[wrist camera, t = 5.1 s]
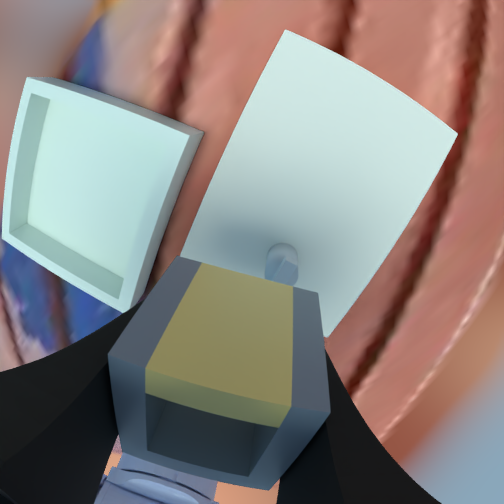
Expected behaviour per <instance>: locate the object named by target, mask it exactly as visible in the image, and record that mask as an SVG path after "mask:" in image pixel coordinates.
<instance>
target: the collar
mask: <svg viewBox="0 0 504 504" xmlns="http://www.w3.org/2000/svg"><path fill="white" fill-rule="evenodd" d="M108 362H109V371H110V380H111V388H112V396H113V403H114V409H115V415H116V421H117V427H118V433H119V438H120V443H121V448H122V452H124V453H126V454H129V455H131V456H134V457H137V458H140V459H142V460H145V461H148V462H151V463H154V464H157V465H160V466H163V467H166V468H170V469H173V470H176V471H180V472H183V473H187V474H191V475H194V476H198V477H202V478H206V479H210V480H215V481H219V482H224V483H229V484H233V485H239V486H244V487H250V488H256V489H262V490H270V489H271V488H272V486H273V485H274V484H275V483H276V482H277V481H278V480H279V478H280V477H281V476H282V475H283V474H284V473H285V471H286V470H287V469H288V468H289V467H290V465H291V464H292V463H293V462H294V460H295V459H296V458H297V457H298V456H299V454H300V453H301V452H302V450H303V449H304V448H305V447H306V445H307V444H308V443H309V441H310V440H311V439H312V438H313V436H314V435H315V434H316V432H317V431H318V430H319V428H320V427H321V425H322V424H323V423H324V421H325V420H326V419H327V417H328V416H329V414H330V413H331V411H330V398H329V387H328V376H327V365H326V355H325V346H324V337H323V328H322V320H321V311H320V303H319V296H318V293H317V292H313V291H309V290H305V289H301V288H297V287H293V286H289V285H286V284H282V283H278V282H274V281H270V280H266V279H262V278H258V277H255V276H251V275H247V274H243V273H239V272H236V271H232V270H228V269H224V268H221V267H217V266H213V265H210V264H206V263H202V262H199V261H195V260H191V259H188V258H184V257H180V256H176V258H175V259H174V260H173V262H172V263H171V264H170V266H169V267H168V269H167V270H166V271H165V273H164V274H163V275H162V277H161V278H160V280H159V281H158V282H157V284H156V285H155V286H154V288H153V289H152V291H151V292H150V293H149V295H148V296H147V298H146V299H145V301H144V302H143V303H142V305H141V306H140V308H139V309H138V311H137V312H136V313H135V315H134V316H133V318H132V319H131V321H130V322H129V324H128V325H127V326H126V328H125V329H124V331H123V332H122V334H121V335H120V337H119V338H118V340H117V341H116V343H115V344H114V346H113V347H112V349H111V350H110V352H109V353H108Z"/></svg>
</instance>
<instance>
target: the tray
mask: <svg viewBox="0 0 504 504" xmlns="http://www.w3.org/2000/svg"><path fill="white" fill-rule="evenodd" d="M203 134H204V132H203V131H200V130H198V129H196V128H193V127H191V126H189V125H186V124H184V123H181V122H179V121H176V120H174V119H172V118H169V117H167V116H164V115H161V114H159V113H156V112H154V111H151V110H149V109H146V108H143V107H141V106H138V105H135V104H133V103H130V102H127V101H124V100H122V99H119V98H116V97H113V96H110V95H107V94H104V93H101V92H98V91H95V90H92V89H89V88H86V87H83V86H80V85H77V84H74V83H70V82H67V81H64V80H61V79H57V78H51V77H27V79H26V82H25V86H24V90H23V94H22V97H21V101H20V105H19V109H18V113H17V117H16V122H15V126H14V131H13V137H12V142H11V147H10V153H9V160H8V167H7V174H6V183H5V193H4V204H3V221H2V239H4V240H5V241H6V242H8V243H9V244H11V245H12V246H14V247H15V248H16V249H18V250H19V251H21V252H22V253H24V254H25V255H27V256H28V257H30V258H31V259H33V260H34V261H36V262H37V263H39V264H40V265H42V266H44V267H45V268H47V269H48V270H50V271H51V272H53V273H55V274H56V275H58V276H59V277H61V278H63V279H64V280H66V281H68V282H69V283H71V284H73V285H74V286H76V287H78V288H79V289H81V290H83V291H85V292H86V293H88V294H90V295H91V296H93V297H95V298H97V299H99V300H100V301H102V302H104V303H106V304H107V305H109V306H111V307H113V308H115V309H117V310H119V311H120V312H122V313H124V312H126V311H127V310H129V309H130V308H132V307H133V306H135V305H136V303H137V302H138V301H139V299H140V298H141V296H142V295H143V294H144V291H145V288H146V285H147V282H148V279H149V276H150V273H151V270H152V267H153V264H154V261H155V258H156V255H157V252H158V249H159V246H160V243H161V241H162V238H163V235H164V232H165V229H166V227H167V224H168V221H169V219H170V216H171V213H172V211H173V208H174V205H175V203H176V200H177V197H178V195H179V192H180V190H181V187H182V185H183V182H184V180H185V177H186V175H187V172H188V170H189V167H190V165H191V163H192V160H193V158H194V155H195V153H196V151H197V148H198V146H199V144H200V141H201V139H202V137H203Z"/></svg>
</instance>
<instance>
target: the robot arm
mask: <svg viewBox="0 0 504 504" xmlns="http://www.w3.org/2000/svg"><path fill="white" fill-rule="evenodd" d="M144 301H145V299H144V300H143V301H141V302H139V303H138V304H136V305H135V306H133V307H132V308H130V309H129V310H127V311H126V312H124V313H123V314H121V315H120V316H118V317H117V318H115V319H114V320H112V321H111V322H109V323H108V324H106V325H104V326H103V327H101V328H100V329H98V330H96V331H95V332H93V333H91V334H90V335H88V336H86V337H84V338H82V339H81V340H79V341H77V342H75V343H73V344H72V345H70V346H68V347H66V348H64V349H62V350H60V351H58V352H55V353H53V354H51V355H49V356H46V357H44V358H42V359H39V360H36V361H34V362H31V363H28V364H25V365H22V366H19V367H16V368H13V369H10V370H6V371H2V372H0V504H219V503H218V502H215V501H214V496H215V491H216V487H217V482H218V481H215V480H210V479H206V478H202V477H198V476H194V475H191V474H187V473H183V472H180V471H176V470H173V469H170V468H166V467H163V466H160V465H157V464H154V463H151V462H148V461H145V460H142V459H140V458H137V457H134V456H131V455H129V454H126V453H124V452H123V454H122V456H121V459H120V461H119V463H118V466H117V468H116V467H112V468H111V470H110V472H109V475H108V476H107V475H104V471H105V468H106V465H107V462H108V459H109V456H110V454H111V451H112V449H113V446H114V444H115V441H116V439H117V436H118V434H119V433H118V427H117V421H116V415H115V409H114V403H113V396H112V388H111V380H110V371H109V362H108V353H109V352H110V350H111V349H112V347H113V346H114V344H115V343H116V341H117V340H118V338H119V337H120V335H121V334H122V332H123V331H124V329H125V328H126V326H127V325H128V324H129V322H130V321H131V319H132V318H133V316H134V315H135V313H136V312H137V311H138V309H139V308H140V306H141V305H142V303H143V302H144ZM325 355H326V365H327V376H328V387H329V398H330V411H331V413H330V414H329V416H328V417H327V419H326V420H325V421H324V423H323V424H322V425H321V427H320V428H319V430H318V431H317V432H316V434H315V435H314V436H313V438H312V439H311V440H310V441H309V443H308V444H307V445H306V447H305V448H304V449H303V450H302V452H301V453H300V454H299V456H298V457H297V458H296V459H295V460H294V462H293V463H292V464H291V465H290V467H289V468H288V469H287V470H286V471H285V473H284V474H283V475H282V476H281V477H280V483H279V490H278V497H277V503H276V504H441V503H440V502H438V501H437V500H436V499H434V498H433V497H432V496H431V495H430V494H428V492H426V491H425V490H424V489H423V488H421V486H419V485H418V484H417V483H416V482H415V481H414V480H413V479H412V478H411V477H410V476H409V475H408V474H407V473H406V472H405V471H404V470H403V469H402V468H401V467H400V466H399V465H398V463H397V462H396V461H395V460H394V459H393V458H392V457H391V455H390V454H389V453H388V452H387V451H386V450H385V448H384V447H383V446H382V444H381V443H380V442H379V440H378V439H377V438H376V436H375V435H374V434H373V432H372V431H371V430H370V428H369V427H368V425H367V424H366V422H365V421H364V419H363V417H362V416H361V414H360V413H359V411H358V410H357V408H356V406H355V405H354V403H353V401H352V399H351V398H350V396H349V394H348V392H347V390H346V389H345V387H344V385H343V383H342V381H341V379H340V377H339V375H338V373H337V371H336V369H335V367H334V365H333V363H332V361H331V359H330V358H329V356H328V354H327V352H326V350H325Z"/></svg>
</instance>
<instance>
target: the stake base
mask: <svg viewBox="0 0 504 504" xmlns="http://www.w3.org/2000/svg"><path fill="white" fill-rule="evenodd" d="M457 135H458V134H457V133H456V132H455V131H454V130H452V129H451V128H450V127H449V126H448V125H446V124H445V123H444V122H442V121H441V120H440V119H439V118H437V117H436V116H435V115H433V114H432V113H431V112H429V111H428V110H427V109H425V108H424V107H423V106H421V105H420V104H418V103H417V102H416V101H414V100H413V99H411V98H410V97H408V96H407V95H405V94H404V93H402V92H401V91H399V90H398V89H396V88H395V87H393V86H392V85H390V84H389V83H387V82H385V81H384V80H382V79H381V78H379V77H377V76H376V75H374V74H372V73H371V72H369V71H367V70H366V69H364V68H362V67H360V66H359V65H357V64H355V63H353V62H352V61H350V60H348V59H346V58H344V57H342V56H340V55H339V54H337V53H335V52H333V51H331V50H329V49H327V48H325V47H323V46H321V45H319V44H317V43H315V42H312V41H310V40H308V39H306V38H304V37H302V36H299V35H297V34H295V33H293V32H290V31H288V30H286V29H285V31H284V33H283V35H282V37H281V38H280V40H279V42H278V44H277V46H276V48H275V50H274V51H273V53H272V55H271V57H270V59H269V61H268V63H267V65H266V67H265V69H264V71H263V72H262V74H261V76H260V78H259V80H258V82H257V84H256V86H255V88H254V90H253V92H252V94H251V96H250V98H249V100H248V102H247V104H246V106H245V108H244V111H243V113H242V115H241V117H240V119H239V121H238V123H237V125H236V127H235V129H234V131H233V134H232V136H231V138H230V140H229V142H228V144H227V146H226V149H225V151H224V153H223V155H222V157H221V160H220V162H219V164H218V166H217V169H216V171H215V173H214V175H213V178H212V180H211V182H210V184H209V187H208V189H207V191H206V194H205V196H204V198H203V201H202V203H201V205H200V208H199V210H198V212H197V215H196V217H195V220H194V222H193V224H192V227H191V229H190V232H189V234H188V237H187V239H186V242H185V244H184V247H183V249H182V252H181V254H180V257H184V258H188V259H191V260H195V261H199V262H202V263H206V264H210V265H213V266H217V267H221V268H224V269H228V270H232V271H236V272H239V273H243V274H247V275H251V276H255V277H258V278H262V279H266V280H270V281H274V282H278V283H282V284H286V285H289V286H293V287H297V288H301V289H305V290H309V291H313V292H317V293H318V296H319V303H320V311H321V320H322V328H323V336H325V337H328V336H329V335H330V334H331V333H332V331H333V330H334V329H335V327H336V326H337V325H338V323H339V322H340V321H341V320H342V318H343V317H344V316H345V314H346V313H347V312H348V310H349V309H350V308H351V306H352V305H353V304H354V302H355V301H356V299H357V298H358V297H359V295H360V294H361V293H362V291H363V290H364V288H365V287H366V286H367V284H368V283H369V281H370V280H371V279H372V277H373V276H374V274H375V273H376V271H377V270H378V268H379V267H380V266H381V264H382V263H383V261H384V260H385V258H386V257H387V255H388V254H389V252H390V251H391V249H392V248H393V246H394V244H395V243H396V241H397V240H398V238H399V237H400V235H401V234H402V232H403V230H404V229H405V227H406V226H407V224H408V222H409V221H410V219H411V218H412V216H413V214H414V213H415V211H416V209H417V208H418V206H419V204H420V203H421V201H422V199H423V198H424V196H425V194H426V192H427V191H428V189H429V187H430V185H431V184H432V182H433V180H434V178H435V177H436V175H437V173H438V171H439V169H440V167H441V166H442V164H443V162H444V160H445V158H446V156H447V154H448V152H449V150H450V149H451V147H452V145H453V143H454V141H455V139H456V137H457Z"/></svg>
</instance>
